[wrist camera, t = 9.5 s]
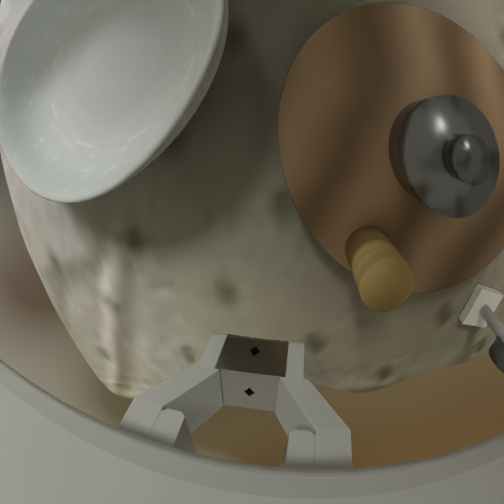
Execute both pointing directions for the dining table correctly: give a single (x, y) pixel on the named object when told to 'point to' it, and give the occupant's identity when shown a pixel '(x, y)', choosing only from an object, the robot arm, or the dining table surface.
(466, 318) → the joystick
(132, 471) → the robot arm
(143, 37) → the serving bowl
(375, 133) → the turntable
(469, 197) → the cover
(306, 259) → the dining table surface
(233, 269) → the dining table surface
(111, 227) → the dining table surface
